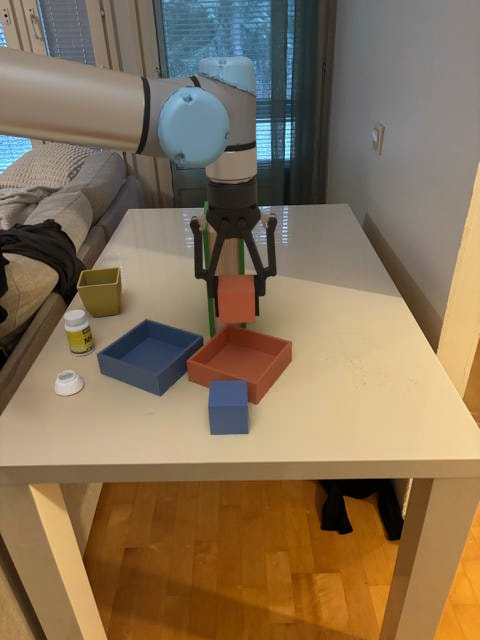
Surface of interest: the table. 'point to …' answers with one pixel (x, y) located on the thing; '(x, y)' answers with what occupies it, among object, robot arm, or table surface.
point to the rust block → (236, 298)
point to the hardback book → (222, 267)
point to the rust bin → (241, 360)
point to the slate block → (228, 407)
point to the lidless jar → (68, 383)
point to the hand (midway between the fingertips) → (237, 312)
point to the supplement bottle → (78, 333)
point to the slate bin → (150, 356)
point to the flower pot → (100, 291)
